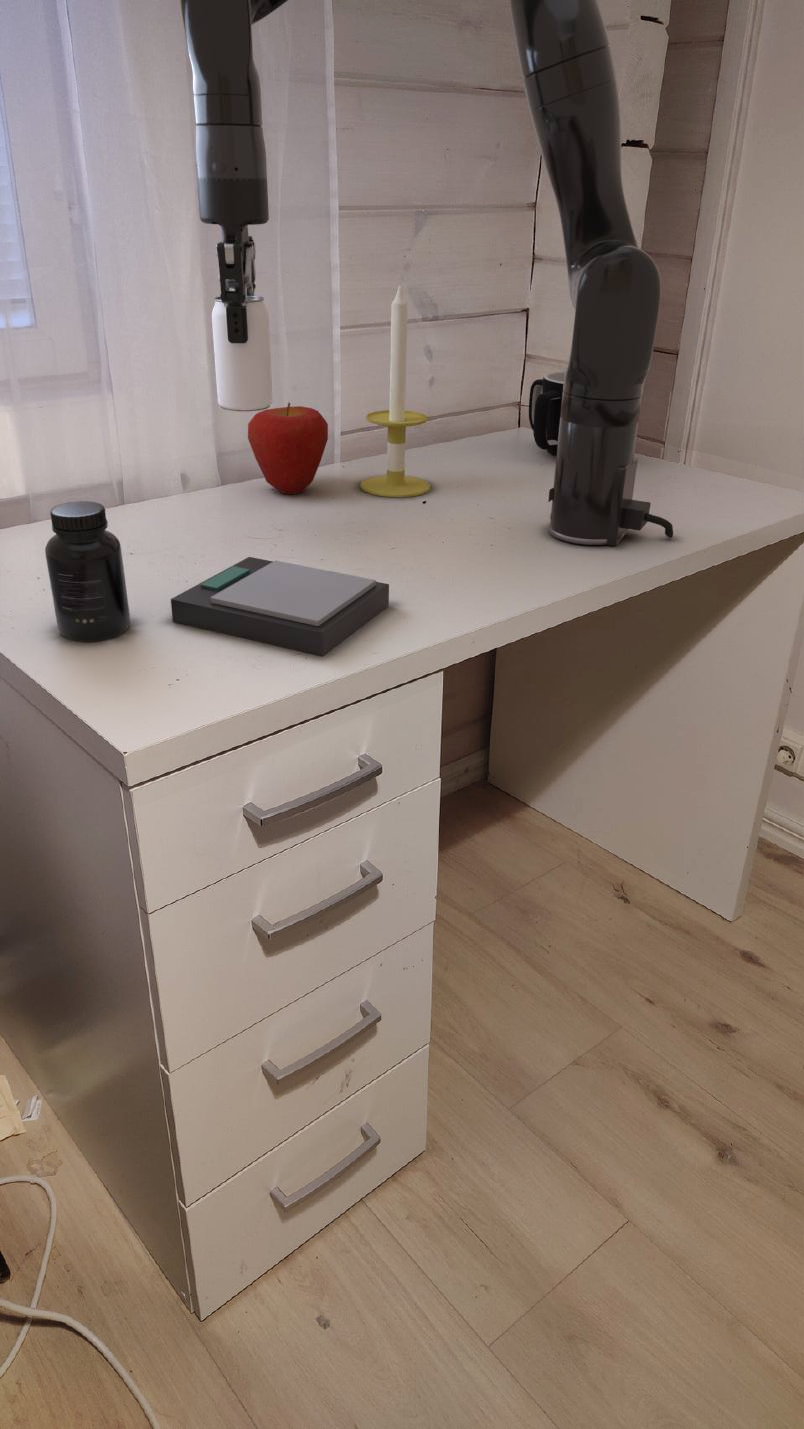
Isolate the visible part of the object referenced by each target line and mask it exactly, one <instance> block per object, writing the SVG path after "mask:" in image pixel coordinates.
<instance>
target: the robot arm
mask: <svg viewBox="0 0 804 1429" xmlns="http://www.w3.org/2000/svg"><path fill="white" fill-rule="evenodd" d="M179 1H180V10H181V17H182V23H183V28H184V34H185V35H184V36H185V40H186V45H187V51H188V55H189V62H190V66H191V73H192V98H193V100H192V101H193V114H194V124H195V126H194V127H195V134H194V135H195V136H194V137H195V138H194V158H195V159H194V160H195V173H196V185H197V186H196V187H197V188H196V189H197V200H198V213H199V219H200V221H201V222H202V223H203V224H206V225H218V226H220V228H221V241H219V242H216V246H215V247H216V248H215V249H216V253H215V254H216V258H217V260H218V280H219V285H220V295H219V297H220V299H222V303H223V304H224V307H226V318H227V333H228V341H229V342H230V343H246V342H247V341H248V326H247V308H246V307H247V304H248V299H247V296H256V295H255V290H256V283H255V282H256V276H257V272H256V271H257V270H256V261H255V260H256V253H257V249H256V242H255V240H254V238H253V236H252V235H249V226H255V225H256V226H258V225H264V224H267V223H268V222H269V220H270V215H269V213H270V211H269V210H270V209H269V190H268V171H267V149H266V143H265V136H264V132H263V131H264V130H263V129H264V128H263V127H262V126H263V117H262V116H263V111H262V110H263V108H262V98H261V97H262V92H261V90H262V89H261V82H260V75H259V71H258V68H257V67H256V64H255V60H254V52H253V31H252V30H253V29H252V28H253V27H252V26H253V25H255V24H256V23H258V22H260V21H261V20H263V19H264V18H266V17H267V16H269V15H270V14H272V13H273V12H274V11H276V10H278V9H279V8H280V7H282V6H283V5H285V4H286V3H287V2H289V0H179ZM508 2H509V9H510V17H511V22H512V23H511V24H512V28H513V29H512V30H513V38H514V42H515V48H516V52H517V59H518V63H519V70H520V75H521V78H522V84H523V89H524V93H525V98H526V102H527V106H528V110H529V115H530V118H531V122H532V126H533V129H534V133H535V137H536V141H537V144H538V148H539V152H540V155H541V158H542V161H543V165H544V168H545V171H546V174H547V178H548V180H549V183H550V187H551V189H552V192H553V196H554V198H555V202H556V205H557V210H558V214H559V220H560V225H561V226H560V227H561V231H562V237H563V238H562V239H563V246H564V253H565V261H566V262H565V263H566V270H567V271H566V272H567V281H568V289H569V290H568V291H569V297H570V301H571V304H572V306H573V308H574V310H575V311H574V322H573V329H572V337H571V338H572V339H571V348H570V354H569V358H568V362H567V365H566V367H565V369H564V371H565V375H564V386H563V395H562V406H561V417H560V426H559V436H558V446H557V456H555V457H556V458H555V468H554V479H553V487H552V488H550V489H549V491H548V501H547V503H550V502H551V508H550V509H551V510H550V516H549V524H548V533H549V534H550V535H551V536H552V537H554V538H556V539H558V540H561V541H564V542H568V543H572V544H577V545H586V546H613V547H614V546H617V545H618V544H619V543H620V542H621V541H622V540H624V538H625V536H626V535H627V534H628V533H629V530H632V531H638V532H640V531H642V529H643V528H644V527H645V526H646V525H647V523H652V524H655V525H657V526H661V528H664V535H665V536H666V537H667V538H669V539H672V538H674V528H673V526H674V525H673V524H672V522H670V521H669V520H668V519H665V518H664V517H661V516H658V515H654V514H651V513H650V510H651V504H652V503H651V502H650V501H644V500H636V499H633V498H634V490H635V489H634V488H635V482H636V475H637V469H638V468H637V467H638V457H636V456H635V450H636V442H637V436H638V435H637V434H638V429H639V428H638V427H639V419H640V412H641V407H642V406H641V405H642V398H643V394H644V393H643V392H644V386H645V382H646V378H647V375H648V374H649V371H650V368H651V365H652V364H651V363H652V358H653V353H654V348H655V347H654V346H655V341H656V334H657V328H658V323H659V322H658V321H659V315H660V309H661V300H662V279H661V273H660V270H659V267H658V266H657V264H656V262H655V261H654V259H653V258H652V257H651V256H650V255H649V254H648V253H647V252H645V251H644V250H642V249H641V248H639V245H638V241H637V239H636V237H635V232H634V228H633V225H632V222H631V218H630V214H629V209H628V206H627V203H626V197H625V192H624V187H623V176H622V118H621V117H622V116H621V103H620V93H619V86H618V80H617V74H616V69H615V65H614V59H613V53H612V49H611V46H610V45H611V43H610V39H609V35H608V34H609V33H608V30H607V27H606V23H605V19H604V16H603V13H602V10H601V7H600V4H599V1H598V0H508Z"/></svg>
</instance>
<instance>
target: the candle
mask: <svg viewBox="0 0 804 1429" xmlns="http://www.w3.org/2000/svg"><path fill="white" fill-rule="evenodd" d="M408 306H409V303H408V302H407V301H406V299H405V297H404V293H403V288H402V286H401V282H400V281H399V285H398V287H397V291H396V295H395V297H394V299H393V300H392V302H391V307H390V308H391V310H390V318H391V319H390V353H389V354H390V355H389V357H390V359H389V361H390V362H389V365H390V366H389V407H388V408H389V409H388V410H387V409H386V410H385V409H384V410H378V411H377V410H376V411H372V412H369V413H367V414H366V416H365V419H366V420H367V421H368V422H369V423H371V424H374V425H379V426H384V427H387V438H386V440H387V441H386V442H387V444H386V446H387V447H386V475H378V476H374V477H373V476H372V477H369V478H367V479H364V480H362V482H361V483H360V485H359V487H360V489H361V491H363V492H365V493H367V494H370V495H374V496H378V497H384V498H411V497H412V498H413V497H416V496H422V495H425V494H427V493H428V492H430V489H431V484H429V483H428V482H427V481H426V480H423V479H421V478H417V477H414V476H407V475H405V471H406V435H407V434H406V430H407V427H415V426H420V425H423V424H426V423H427V421H428V418H429V417H428V416H427V415H426V414H424V413H421V412H418V411H412V410H406V383H407V382H406V378H407V346H408V345H407V342H408V340H407V339H408V308H409V307H408Z"/></svg>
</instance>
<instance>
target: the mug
mask: <svg viewBox="0 0 804 1429" xmlns="http://www.w3.org/2000/svg"><path fill="white" fill-rule="evenodd" d="M564 375H565V370H558V371H552V372H548V373H545V374H544V375H543V377H542V378H541V379H540V378H539V379H536V380H534V381H533V382H532V383H531V385H530V389H529V399H528V421H529V425H530V428H531V430H532V432H533V438H534V443H535V444H536V446H537V447H538V448H540V449H542V450H544V451H546V452H547V453H548V454H549V455H550V456H554V457H556V456H557V446H558V436H559V426H560V417H561V406H562V395H563V386H564Z"/></svg>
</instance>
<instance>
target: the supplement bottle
mask: <svg viewBox="0 0 804 1429" xmlns="http://www.w3.org/2000/svg"><path fill="white" fill-rule="evenodd" d="M49 514H50V518H51V519H50V520H51V530H52V532H53V533H54V535H52V537H50V538H49V539H48V541H47V542H46V545H45V547H44V553H45V560H46V566H47V573H48V577H49V583H50V590H51V591H50V592H51V596H52V602H53V608H54V614H55V620H56V624H57V629H58V631H59V633H60V634H61V635H62V636H64V637H65V638H67V639H70V640H72V641H76V642H77V641H78V642H97V641H98V642H99V641H104V640H108V639H112V638H115V637H117V636H119V635H121V634H123V633H124V632H125V631H126V630H127V629H128V628H129V626H130V623H131V616H130V615H131V614H130V607H129V598H128V590H127V583H126V574H125V567H124V560H123V553H122V552H123V550H122V545H121V542H120V540H119V538H117V535H115V534H114V533H112V532H111V531H109V530H107V529H108V527H109V523H108V519H107V515H106V508H105V506H104V505H103V504H102V503H99V502H95V501H90V500H89V501H87V500H79V501H78V500H77V501H76V500H75V501H70V502H65V503H60V504H57V505H56V506H53V507H52V508H51V509H50V513H49Z"/></svg>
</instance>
